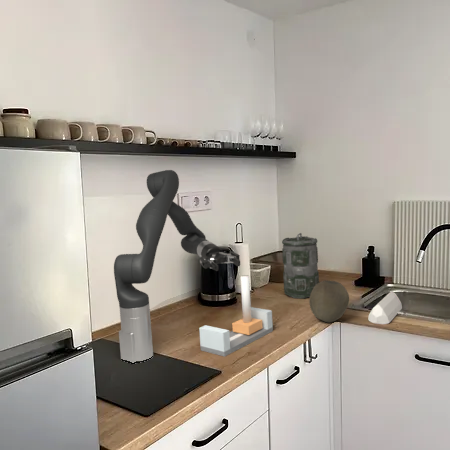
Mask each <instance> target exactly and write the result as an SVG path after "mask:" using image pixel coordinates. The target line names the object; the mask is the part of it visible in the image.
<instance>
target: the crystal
mask: <svg viewBox="0 0 450 450" xmlns="http://www.w3.org/2000/svg"><path fill="white" fill-rule="evenodd" d="M402 305H403V304H402V302H401V300H400V298H399V297H398V296H397V294H396V293H395V292H394V291H390V292H389V293H387V294H386V295H385V296H384V297H383V298H382V299H381V300H380V301H379V302H377V304H376V305H374V307H373V308H372V309H371V310H370V312H369V314H368V320H367V321H369V322H370V323H371V324H372V323H373V324H378V325H388V324H389V323H391V322H392V320H393V319H394V318H395V317H396V316H397V315H398V314H399V312H401V311H402V309H403V306H402Z"/></svg>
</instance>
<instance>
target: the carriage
mask: <svg viewBox="0 0 450 450" xmlns="http://www.w3.org/2000/svg"><path fill="white" fill-rule="evenodd" d="M250 285H251V283H250V275H248V274H247V275H245V274H244V275H240V293H241V309H242V318H240V319H239V320H236V321H234V322H232V323H231V324H232V325H231V326H232V331H233V332H237V333H242V334H247V335H250V334H252V333H254V332H256V331H258V330H260V329H262V328H263V326H262V320H260V319H255V318H251V307H252V303H251V289H250V288H251V286H250Z"/></svg>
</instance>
